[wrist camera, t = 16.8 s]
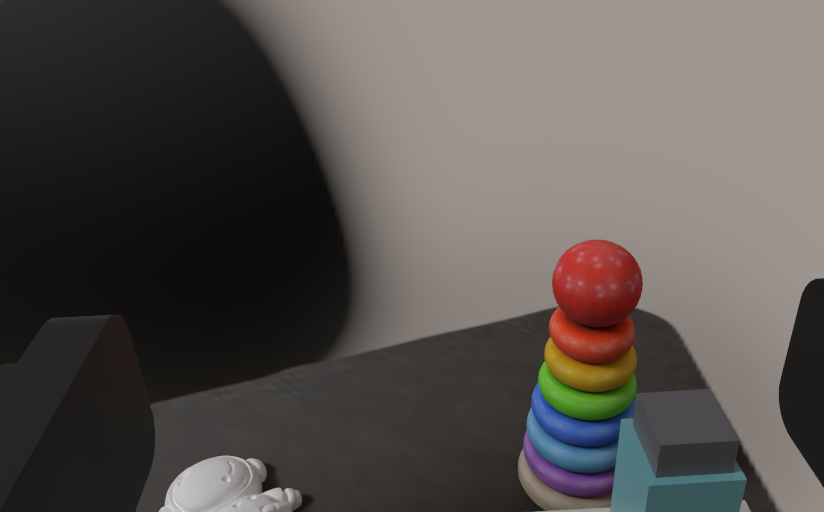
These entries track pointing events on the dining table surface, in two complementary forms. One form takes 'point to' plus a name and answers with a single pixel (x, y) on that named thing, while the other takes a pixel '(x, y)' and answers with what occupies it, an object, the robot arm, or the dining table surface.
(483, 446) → the dining table surface
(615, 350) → the stacking toy
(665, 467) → the teal square bottle
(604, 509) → the recessed white block
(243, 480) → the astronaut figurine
